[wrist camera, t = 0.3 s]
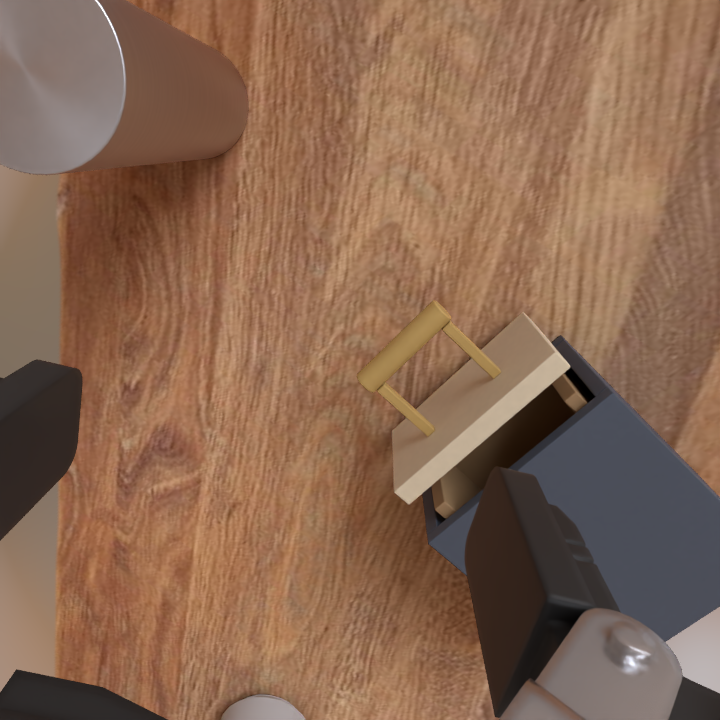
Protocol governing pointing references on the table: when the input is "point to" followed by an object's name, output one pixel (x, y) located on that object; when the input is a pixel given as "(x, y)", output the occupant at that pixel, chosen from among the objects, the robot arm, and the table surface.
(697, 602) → the cabinet
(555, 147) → the table surface
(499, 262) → the table surface
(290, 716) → the can
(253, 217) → the table surface
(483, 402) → the drawer
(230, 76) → the cylinder
